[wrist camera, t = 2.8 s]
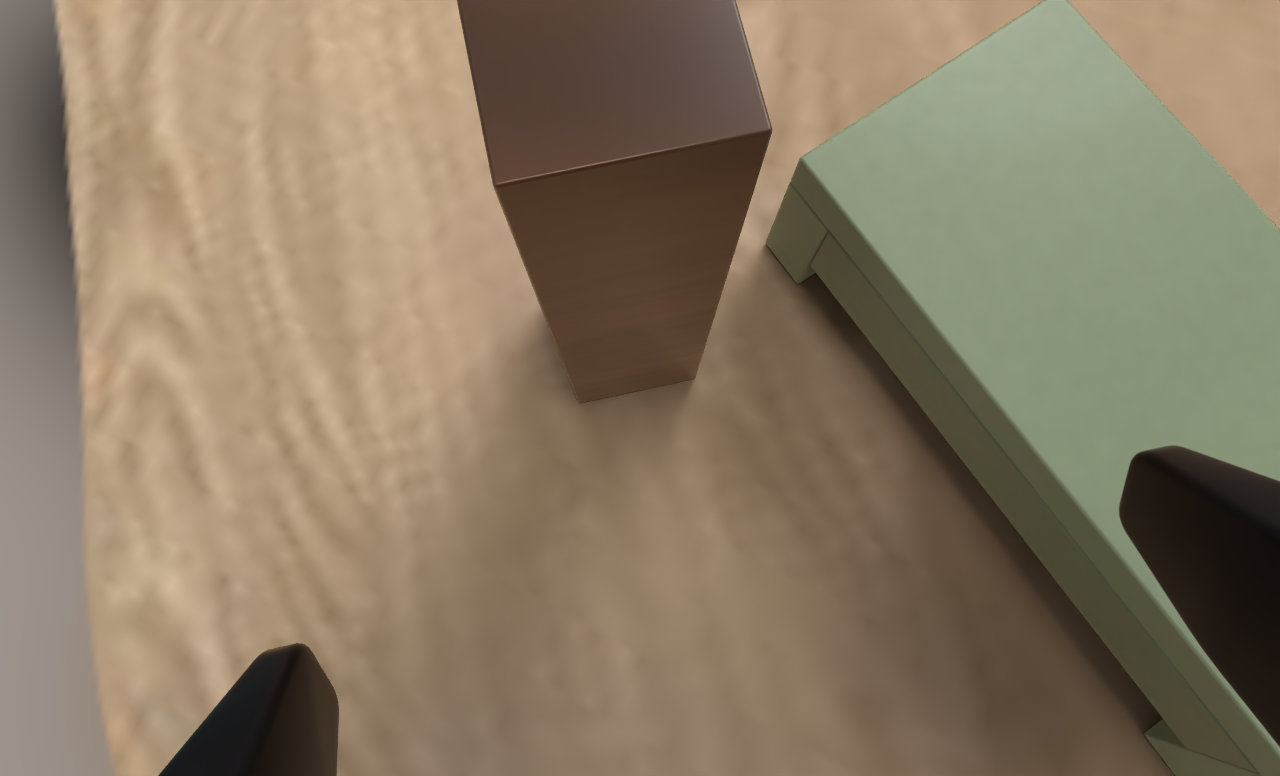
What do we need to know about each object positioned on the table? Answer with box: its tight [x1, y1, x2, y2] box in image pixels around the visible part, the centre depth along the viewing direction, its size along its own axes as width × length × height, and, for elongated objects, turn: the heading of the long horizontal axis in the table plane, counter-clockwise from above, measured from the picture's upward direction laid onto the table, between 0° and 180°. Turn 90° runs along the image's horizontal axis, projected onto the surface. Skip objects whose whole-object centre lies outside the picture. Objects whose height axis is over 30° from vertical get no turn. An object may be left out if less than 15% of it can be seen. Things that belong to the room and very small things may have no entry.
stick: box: [457, 0, 772, 403], centre depth 16 cm, size 3×3×13 cm
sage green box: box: [766, 0, 1280, 776], centre depth 19 cm, size 8×18×5 cm, turn 34°
